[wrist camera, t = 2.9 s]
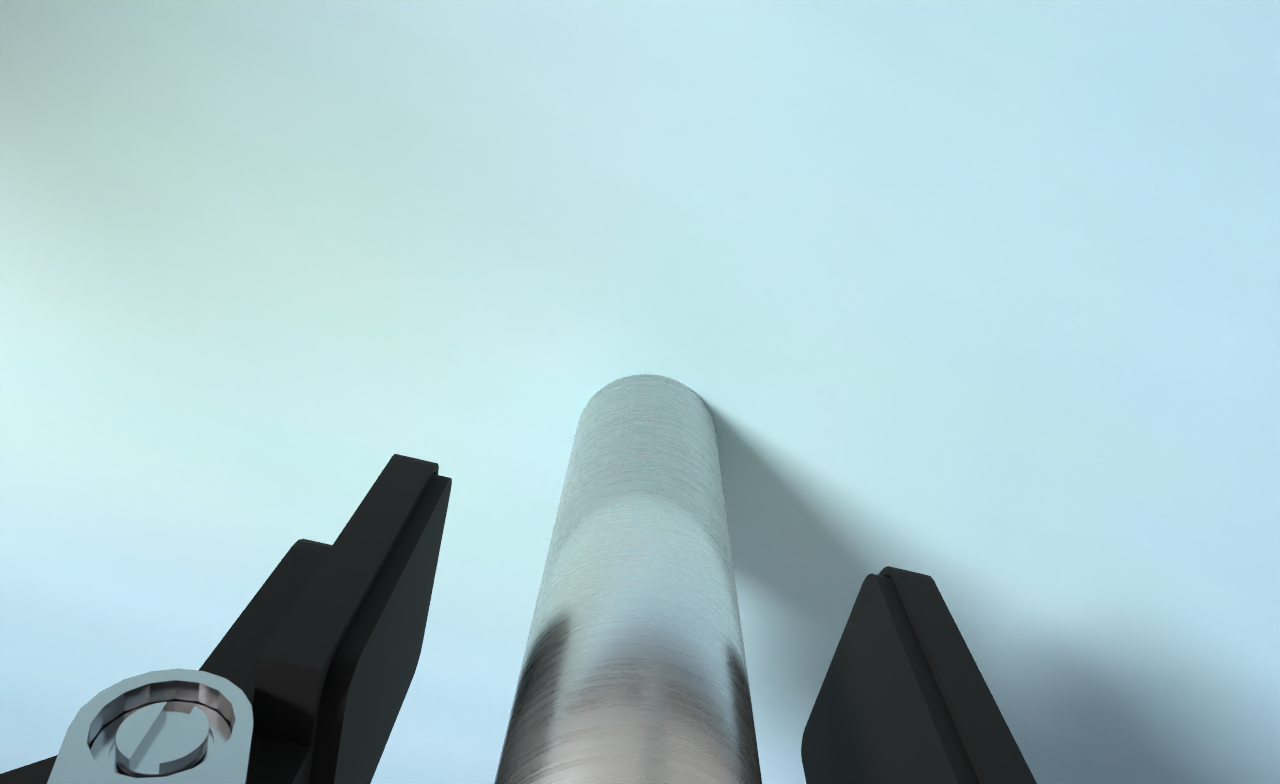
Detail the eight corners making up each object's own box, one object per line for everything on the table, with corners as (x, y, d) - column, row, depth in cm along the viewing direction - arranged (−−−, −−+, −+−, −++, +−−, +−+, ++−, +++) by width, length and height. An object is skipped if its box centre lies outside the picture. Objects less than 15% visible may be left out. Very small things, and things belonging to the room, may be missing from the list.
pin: (593, 359, 16) (242, 1869, 3) (732, 393, 16) (1041, 1964, 3) (563, 484, 17) (198, 2051, 4) (695, 514, 17) (799, 2119, 4)
